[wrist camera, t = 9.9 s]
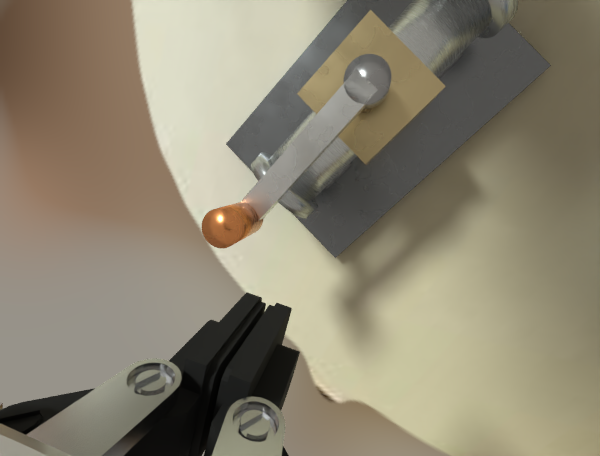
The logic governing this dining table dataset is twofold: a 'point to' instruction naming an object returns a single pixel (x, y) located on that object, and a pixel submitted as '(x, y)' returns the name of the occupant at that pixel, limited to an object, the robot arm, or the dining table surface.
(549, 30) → the dining table surface
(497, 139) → the dining table surface
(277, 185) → the lever
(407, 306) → the dining table surface
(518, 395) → the dining table surface
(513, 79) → the valve body
